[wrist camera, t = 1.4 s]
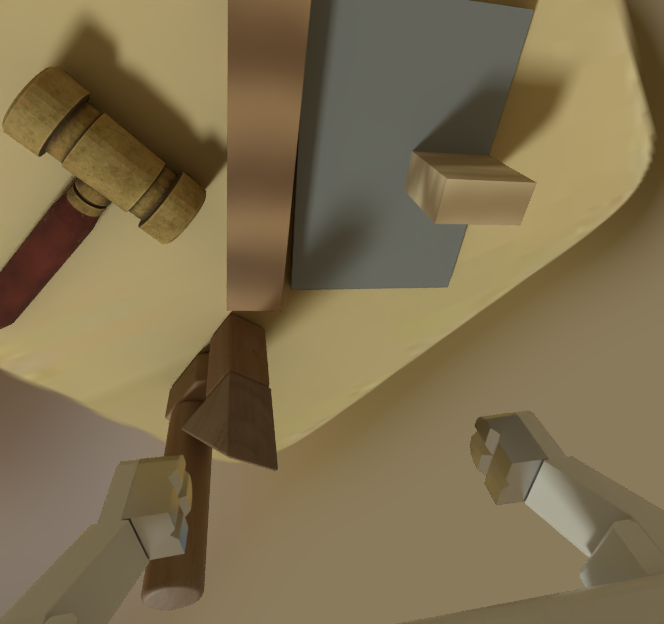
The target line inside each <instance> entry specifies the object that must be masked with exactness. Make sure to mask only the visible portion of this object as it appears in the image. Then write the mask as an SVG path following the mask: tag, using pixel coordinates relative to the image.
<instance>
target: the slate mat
mask: <svg viewBox="0 0 664 624" xmlns="http://www.w3.org/2000/svg"><path fill="white" fill-rule="evenodd" d="M533 12H534V10H533V9H526V8H519V7H513V6H506V5H499V4H492V3H485V2H478V1H471V0H311V7H310V17H309V28H308V38H307V48H306V58H305V69H304V79H303V89H302V100H301V110H300V120H299V130H298V141H297V153H296V174H295V196H294V217H293V238H292V259H291V280H290V286H291V290H320V289H380V288H440V287H448V285H449V282H450V278H451V275H452V272H453V269H454V266H455V262H456V259H457V256H458V253H459V250H460V246H461V243H462V240H463V237H464V234H465V230H466V227H467V224H435V223H434V222H433V221H432V220H431V219H430V218H429V216H428V215H427V214H426V213H425V212H424V211H423V210H422V209H421V208H420V207H419V206H418V205H417V204H416V203H415V202H414V201H413V199H412V198H411V197H410V196H409V195H408V194H407V193H406V192H405V191H404V188H405V183H406V178H407V173H408V168H409V163H410V159H411V154H412V151H420V152H437V153H454V154H471V155H488V156H489V153H490V150H491V147H492V144H493V141H494V137H495V134H496V131H497V128H498V125H499V121H500V118H501V115H502V112H503V109H504V105H505V102H506V99H507V96H508V93H509V89H510V86H511V83H512V80H513V77H514V73H515V70H516V67H517V64H518V61H519V57H520V54H521V51H522V48H523V44H524V41H525V38H526V35H527V32H528V28H529V25H530V22H531V19H532V16H533Z"/></svg>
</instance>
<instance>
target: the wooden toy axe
mask: <svg viewBox="0 0 664 624" xmlns="http://www.w3.org/2000/svg"><path fill="white" fill-rule="evenodd" d="M165 418H166V419H167V420H170V423H169V429H168V435H167V441H166V447H165V453H164V457H165V456H175V455H183V456H184V459H185V461H186V466H185V471H186V472H188V473H189V474H190V477H191V483H192V504H191V511H190V512H189V513H188V514H187V515H186V517H185V519H186V522H187V525H188V533H187V540H186V547H185V553H184V554H180V555H174V556H169V557H163V558H158V559H153V560H148V561H149V563H148V565H147V566H146V568H145V575H144V581H143V587H142V593H141V599H142V603H143V604H144V605H145V606H146V607H149V608H151V609H158V610H173V609H178V608H183V607H186V606H188V605H191V604H193V603H195V602H196V601H198V600H199V599H200V598H201V597H202V594H203V592H204V581H205V563H206V546H207V529H208V511H209V494H210V476H211V459H212V448H213V449H215V450H217V451H219V452H220V453H222V454H224V455H225V456H227V457H229V458H232V459H235V460H239V461H242V462H246V463H249V464H252V465H256V466H259V467H263V468H266V469H269V470H273V471H276V470H277V469H278V466H277V454H276V442H275V431H274V420H273V409H272V397H271V389H270V388H269V374H268V362H267V351H266V339H265V331H264V330H263V329H262V328H261V327H259V326H257V325H255V324H253V323H251V322H249V321H247V320H244V319H242V318H240V317H238V316H236V315H234V314H231V315H230V316H229V317H228V318H227V319H226V321H225V322H224V323H223V324H222V326H221V327H220V328H219V329H218V331H217V332H216V333H215V334H214V335H213V337H212V338H211V341H210V352H207V353H202V354H199V355H198V356H197V357H196V358H195V359H194V361H193V362H192V363H191V364H190V366H189V367H188V368H187V369H186V371H185V372H184V373H183V374H182V376H181V377H180V378H179V379H178V381H177V382H176V383H175V384H174V386H173V387H172V388H171V389H170V393H169V398H168V404H167V410H166V415H165Z"/></svg>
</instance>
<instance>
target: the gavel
mask: <svg viewBox="0 0 664 624" xmlns="http://www.w3.org/2000/svg"><path fill="white" fill-rule="evenodd" d="M89 98H90V93H89V92H88V91H87V90H86V89H84V88H83V87H82V86H81V85H80V84H78V83H77V82H76V81H75V80H74V79H72V78H71V77H70V76H69V75H68V74H67V73H65V72H64V71H63V70H62V69H61V68H59V67H58V66H54V67H48V68H46V69H44V70H43V71H41V72H40V73H39V74H37V75H36V76H35V77H34V78H33V79H32V80H31V81H30V82H29V83H28V84H27V85H26V86H25V87H24V88H23V90H22V91H21V92H20V93H19V95H18V96H17V97H16V98H15V100H14V101H13V103H12V104H11V106H10V107H9V109H8V111H7V112H6V114H5V117H4V119H3V131H4V132H5V133H6V134H7V135H9V136H10V137H12V138H13V139H14V140H16V141H17V142H19V143H20V144H22V145H23V146H24V147H26V148H27V149H29V150H30V151H31V152H33V153H34V154H36V155H37V156H39V157H40V156H42V155H43V154H45V153H46V152H47V153H49V154H50V155H52V156H53V157H54V158H56V159H57V160H59V161H60V162H61V163H62V167H64V168H65V169H66V170H68V171H69V172H71V173H72V174H73V175H75V176H76V177H78V178H77V180H76V181H75V184H73V186H72V187H71V188H70V190H69V191H68V192H67V193H66V194H65V195H63V196H62V197H61V198H60V199H58V200H57V201H56V202H55V203H54V204H53V205H52V206H51V208H50V209H49V210H48V211H47V213H46V214H45V215H44V217H43V218H42V219H41V220H40V222H39V223H38V224H37V226H36V227H35V228H34V230H33V231H32V232H31V233H30V235H29V236H28V237H27V239H26V240H25V241H24V242H23V244H22V245H21V246H20V248H19V249H18V250H17V252H16V253H15V254H14V255H13V257H12V258H11V259H10V261H9V262H8V263H7V265H6V266H5V267H4V268H3V270H2V271H1V272H0V329H2V328H4V327H6V326H8V325H11V324H12V323H14V322H15V320H16V319H17V318H18V317H19V316H20V315H21V313H22V312H23V311H24V310H25V309H26V308H27V306H28V305H29V304H30V303H31V302H32V300H33V299H34V298H35V297H36V296H37V295H38V293H39V292H40V291H41V290H42V289H43V287H44V286H45V285H46V284H47V283H48V282H49V280H50V279H51V278H52V277H53V276H54V274H55V273H56V272H57V271H58V270H59V269H60V267H61V266H62V265H63V264H64V263H65V262H66V260H67V259H68V258H69V257H70V256H71V254H72V253H73V252H74V251H75V250H76V249H77V247H78V246H79V245H80V244H81V243H82V241H83V240H84V239H85V238H86V237H87V236H88V234H89V233H90V232H91V231H92V230H93V228H94V226H95V224H96V222H97V220H98V218H99V216H100V215H101V213H102V212H103V211H104V210H105V209H106V207H107V206H108V205H109V204H110V203H111V202H113V203H114V204H115V205H117V206H118V207H120V208H121V209H122V210H124V211H125V212H127V211H130V212H131V213H132V214H134V215H135V216H137V217H138V218H139V219H141V221H140V223H139V226H138V227H139V228H141V229H142V230H143V231H145V232H146V233H148V234H149V235H151V236H152V237H153V238H155V239H156V240H158V241H159V242H160V243H162V244H167V243H170V242H172V241H173V240H174V239H176V238H177V237H178V236H179V235H180V234H181V233H182V232H183V231H184V230H185V229H186V227H187V226H188V225H189V224H190V223H191V221H192V220H193V219H194V217H195V216H196V215H197V213H198V212H199V210H200V209H201V207H202V205H203V203H204V201H205V198H206V190H204V189H203V188H202V187H201V186H200V185H198V184H197V183H196V182H195V181H194V180H193V179H191V178H190V177H189V176H188V175H187V174H185V173H184V172H180V173H179V174H178V175H177V176H176V175H175V174H174V173H173V172H172V171H170V170H169V169H168V168H167V167H166V166H165V162H163V161H162V160H161V159H160V158H159V157H157V156H156V155H155V154H154V153H153V152H151V151H150V150H149V149H148V148H147V147H145V146H144V145H143V144H142V143H141V142H139V141H138V140H137V139H136V138H135V137H133V136H132V135H131V134H130V133H129V132H127V131H126V130H125V129H124V128H123V127H121V126H120V125H119V124H118V123H117V122H115V121H114V120H113V119H112V118H111V117H109V116H108V115H107V114H106V113H104V114H101V113H100V112H99V111H98V110H97V109H95V108H94V107H93V106H92V105H91V104H89V103H88V100H89Z"/></svg>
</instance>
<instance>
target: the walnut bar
mask: <svg viewBox="0 0 664 624" xmlns="http://www.w3.org/2000/svg"><path fill="white" fill-rule="evenodd" d="M310 7H311V0H228V126H227V311H281V305H282V295H283V285H284V275H285V264H286V254H287V244H288V233H289V223H290V213H291V202H292V192H293V182H294V172H295V161H296V151H297V141H298V130H299V120H300V110H301V100H302V89H303V79H304V69H305V58H306V48H307V38H308V28H309V17H310Z"/></svg>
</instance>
